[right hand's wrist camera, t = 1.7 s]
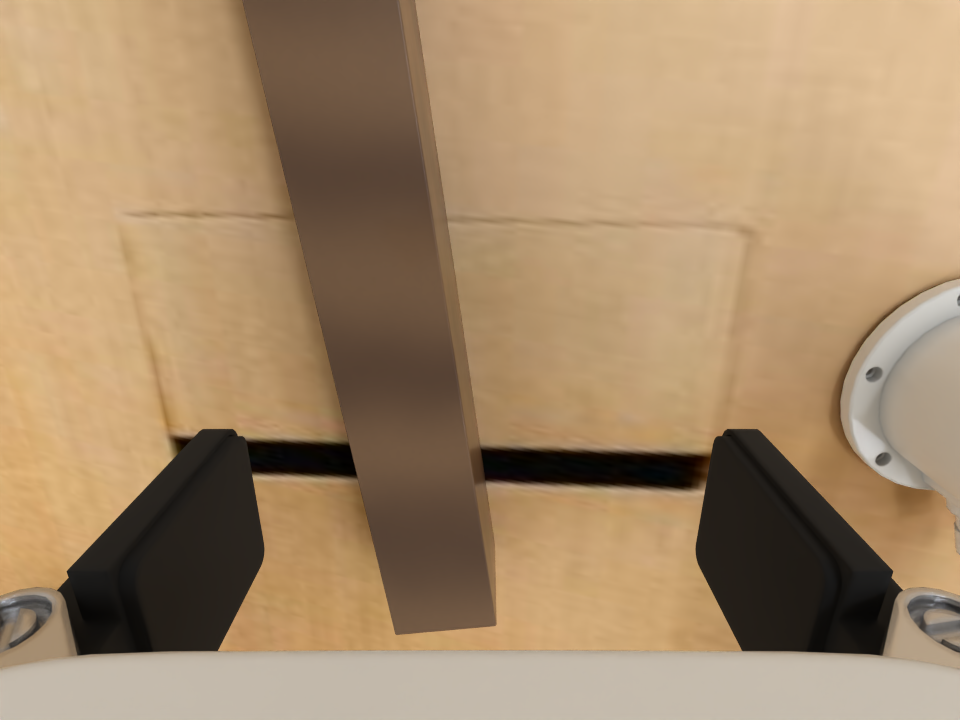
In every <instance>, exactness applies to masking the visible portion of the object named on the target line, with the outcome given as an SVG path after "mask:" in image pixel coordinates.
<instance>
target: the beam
mask: <svg viewBox="0 0 960 720" xmlns="http://www.w3.org/2000/svg"><path fill="white" fill-rule="evenodd" d="M242 1H243V5H244V9H245V13H246V18H247V22H248V26H249V30H250V34H251V38H252V42H253V47H254V51H255V55H256V59H257V63H258V67H259V71H260V76H261V80H262V84H263V88H264V92H265V96H266V100H267V104H268V109H269V113H270V117H271V121H272V125H273V129H274V133H275V138H276V142H277V146H278V150H279V154H280V158H281V162H282V167H283V171H284V175H285V179H286V183H287V187H288V191H289V196H290V200H291V204H292V208H293V212H294V216H295V220H296V225H297V229H298V233H299V237H300V241H301V245H302V249H303V253H304V258H305V262H306V266H307V270H308V274H309V278H310V282H311V287H312V291H313V295H314V299H315V303H316V307H317V311H318V316H319V320H320V324H321V328H322V332H323V336H324V340H325V345H326V349H327V353H328V357H329V361H330V365H331V369H332V374H333V378H334V382H335V386H336V390H337V394H338V398H339V403H340V407H341V411H342V415H343V419H344V423H345V427H346V431H347V436H348V440H349V444H350V448H351V452H352V456H353V460H354V465H355V469H356V473H357V477H358V481H359V485H360V489H361V494H362V498H363V502H364V506H365V510H366V514H367V518H368V523H369V527H370V531H371V535H372V539H373V543H374V547H375V552H376V556H377V560H378V564H379V568H380V572H381V576H382V580H383V585H384V589H385V593H386V597H387V601H388V605H389V609H390V614H391V618H392V622H393V626H394V630H395V634H396V635H400V634H411V633H423V632H434V631H445V630H456V629H467V628H478V627H490V626H496V578H495V543H494V537H493V530H492V523H491V516H490V509H489V503H488V496H487V489H486V482H485V475H484V469H483V462H482V455H481V448H480V441H479V435H478V428H477V421H476V414H475V407H474V401H473V394H472V387H471V380H470V373H469V367H468V360H467V353H466V346H465V339H464V333H463V326H462V319H461V312H460V305H459V299H458V292H457V285H456V278H455V271H454V265H453V258H452V251H451V244H450V237H449V230H448V224H447V217H446V210H445V203H444V196H443V190H442V183H441V176H440V169H439V162H438V156H437V149H436V142H435V135H434V128H433V122H432V115H431V108H430V101H429V94H428V88H427V81H426V74H425V67H424V60H423V54H422V47H421V40H420V33H419V26H418V20H417V13H416V6H415V0H242Z"/></svg>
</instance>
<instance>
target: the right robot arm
mask: <svg viewBox="0 0 960 720" xmlns="http://www.w3.org/2000/svg"><path fill="white" fill-rule="evenodd" d="M840 406H841V422H842V425H843V429H844V433H845V436H846V438H847V440H848V442H849V444H850V445H851V447H852V449H853V451H854V452H855V453H856V454H857V455H858V456H859V457H860V458H861V459H862V460H863V461H864V462H865V463H866V464H867V465H868V466H869V467H871V468H872V469H873V470H875V471H876V472H877V473H878V474H879V475H881V476H883V477H885V478H887V479H889V480H891V481H892V482H894V483H896V484H900V485H904V486H907V487H911V488H915V489H925V490H936V491H937V492H938V493H940V494H941V495H942V496H943V497H945V498H946V507H947V508H948V509H949V511H950V512H951V513H952V514H954V515H955V519H956V521H955V523H954V535H955V548H956V552H957V553H958V554H959V555H960V279H956V280H952V281H948V282H945V283H943V284H940V285H938V286H936V287H934V288H931V289H929V290H927V291H924V292H922V293H921V294H919V295H917V296H916V297H914V298H913V299H911V300H909V301H908V302H906V303H905V304H903V305H901V306H900V307H899V308H897V309H896V310H895V311H894V312H893V313H892V314H890V315H889V316H888V317H887V318H886V319H885V320H883V321H882V322H881V323H880V324H879V325H878V326H877V328H876V329H875V330H874V331H873V332H872V333H871V334H870V336H869V337H868V338H867V339H866V340H865V341H864V343H863V345H862V346H861V348H860V349H859V351H858V353H857V354H856V356H855V357H854V359H853V361H852V363H851V365H850V368H849V370H848V373H847V375H846V378H845V380H844V384H843V390H842V395H841V400H840ZM263 558H264V542H263V536H262V530H261V524H260V518H259V512H258V507H257V501H256V495H255V489H254V483H253V477H252V472H251V466H250V460H249V454H248V448H247V443H246V440H245V438H244V437H243V436H238V435H237V433H236V432H235V431H234V430H233V429H202V430H201V431H200V432H199V433H198V434H197V435H196V436H195V437H194V438H193V439H192V440H191V441H190V442H189V443H188V444H187V445H186V446H185V447H184V448H183V449H182V451H181V452H180V453H179V454H178V455H177V456H176V457H175V458H174V459H173V460H172V461H171V462H170V463H169V464H168V465H167V466H166V467H165V468H164V469H163V471H162V472H161V473H160V474H159V475H158V476H157V477H156V478H155V479H154V480H153V481H152V482H151V483H150V484H149V485H148V486H147V487H146V488H145V489H144V491H143V492H142V493H141V494H140V495H139V496H138V497H137V498H136V499H135V500H134V501H133V502H132V503H131V504H130V505H129V506H128V507H127V508H126V509H125V511H124V512H123V513H122V514H121V515H120V516H119V517H118V518H117V519H116V520H115V521H114V522H113V523H112V524H111V525H110V526H109V527H108V528H107V529H106V531H105V532H104V533H103V534H102V535H101V536H100V537H99V538H98V539H97V540H96V541H95V542H94V543H93V544H92V545H91V546H90V547H89V548H88V549H87V550H86V552H85V553H84V554H83V555H82V556H81V557H80V558H79V559H78V560H77V561H76V562H75V563H74V564H73V565H72V566H71V567H70V568H69V569H68V570H67V574H68V577H69V578H68V579H67V580H66V581H65V582H64V583H63V585H62V586H61V587H60V588H59V589H58V590H57V591H56V590H54V589H51V588H41V587H35V588H28V589H21V590H17V591H14V592H11V593H7V594H4V595H1V596H0V720H960V596H959V595H956V594H953V593H949V592H946V591H943V590H939V589H932V588H925V587H919V588H909V589H906V590H904V591H903V590H902V589H901V588H900V587H899V586H898V585H897V583H896V582H895V581H894V580H893V579H892V578H891V577H892V574H893V570H892V569H891V568H890V567H889V566H888V565H887V564H886V563H885V562H884V561H883V560H882V559H881V558H880V557H879V556H878V555H877V554H876V553H875V552H874V551H873V549H872V548H871V547H870V546H869V545H868V544H867V543H866V542H865V541H864V540H863V539H862V538H861V537H860V536H859V535H858V534H857V533H856V532H855V531H854V529H853V528H852V527H851V526H850V525H849V524H848V523H847V522H846V521H845V520H844V519H843V518H842V517H841V516H840V515H839V514H838V513H837V512H836V511H835V509H834V508H833V507H832V506H831V505H830V504H829V503H828V502H827V501H826V500H825V499H824V498H823V497H822V496H821V495H820V494H819V493H818V492H817V491H816V489H815V488H814V487H813V486H812V485H811V484H810V483H809V482H808V481H807V480H806V479H805V478H804V477H803V476H802V475H801V474H800V473H799V472H798V471H797V469H796V468H795V467H794V466H793V465H792V464H791V463H790V462H789V461H788V460H787V459H786V458H785V457H784V456H783V455H782V454H781V453H780V452H779V451H778V449H777V448H776V447H775V446H774V445H773V444H772V443H771V442H770V441H769V440H768V439H767V438H766V437H765V436H764V435H763V434H762V433H761V432H760V431H759V430H758V429H727V430H726V431H725V432H724V433H723V435H722V436H717V437H716V438H715V440H714V443H713V448H712V454H711V460H710V466H709V472H708V477H707V483H706V489H705V495H704V501H703V507H702V512H701V518H700V524H699V530H698V536H697V542H696V558H697V562H698V565H699V567H700V569H701V571H702V573H703V575H704V577H705V579H706V581H707V583H708V585H709V586H710V588H711V590H712V592H713V594H714V596H715V598H716V600H717V602H718V604H719V606H720V608H721V610H722V612H723V614H724V616H725V618H726V620H727V622H728V624H729V626H730V628H731V630H732V632H733V634H734V636H735V637H736V639H737V641H738V643H739V645H740V647H741V649H742V651H595V650H414V651H218V649H219V647H220V645H221V643H222V641H223V639H224V637H225V636H226V634H227V632H228V630H229V628H230V626H231V624H232V622H233V620H234V618H235V616H236V614H237V612H238V610H239V608H240V606H241V604H242V602H243V600H244V598H245V596H246V594H247V592H248V590H249V588H250V586H251V585H252V583H253V581H254V579H255V577H256V575H257V573H258V571H259V569H260V567H261V565H262V562H263Z"/></svg>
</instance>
